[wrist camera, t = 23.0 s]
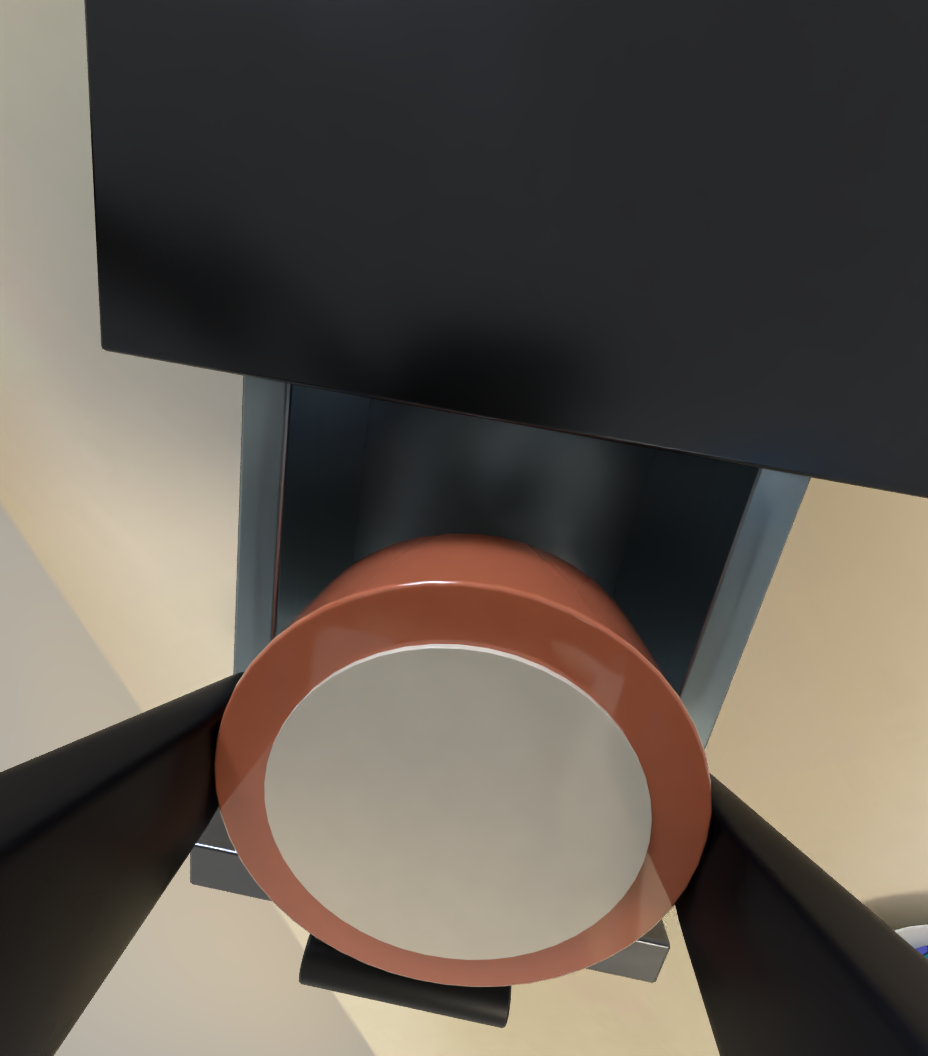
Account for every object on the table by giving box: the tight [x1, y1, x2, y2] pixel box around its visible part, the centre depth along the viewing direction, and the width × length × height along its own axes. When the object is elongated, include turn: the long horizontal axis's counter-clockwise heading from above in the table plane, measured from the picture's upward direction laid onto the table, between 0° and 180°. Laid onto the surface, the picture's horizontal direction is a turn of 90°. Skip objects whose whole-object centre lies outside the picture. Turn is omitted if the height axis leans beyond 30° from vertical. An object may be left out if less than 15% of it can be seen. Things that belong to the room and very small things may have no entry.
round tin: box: [214, 534, 712, 987], centre depth 7 cm, size 7×7×3 cm
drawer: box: [190, 376, 811, 1028], centre depth 11 cm, size 20×10×6 cm, turn 170°
